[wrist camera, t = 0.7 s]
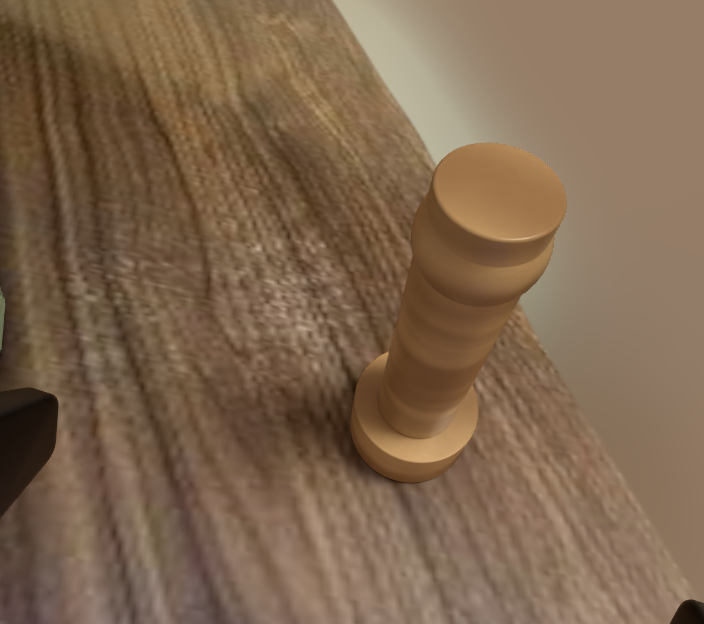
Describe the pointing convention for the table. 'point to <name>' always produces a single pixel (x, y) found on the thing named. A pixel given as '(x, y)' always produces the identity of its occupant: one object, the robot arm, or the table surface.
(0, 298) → the bowl
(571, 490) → the table surface
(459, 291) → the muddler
